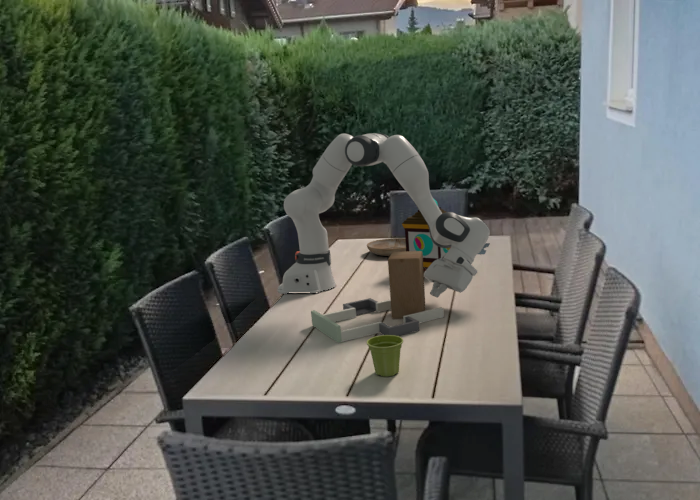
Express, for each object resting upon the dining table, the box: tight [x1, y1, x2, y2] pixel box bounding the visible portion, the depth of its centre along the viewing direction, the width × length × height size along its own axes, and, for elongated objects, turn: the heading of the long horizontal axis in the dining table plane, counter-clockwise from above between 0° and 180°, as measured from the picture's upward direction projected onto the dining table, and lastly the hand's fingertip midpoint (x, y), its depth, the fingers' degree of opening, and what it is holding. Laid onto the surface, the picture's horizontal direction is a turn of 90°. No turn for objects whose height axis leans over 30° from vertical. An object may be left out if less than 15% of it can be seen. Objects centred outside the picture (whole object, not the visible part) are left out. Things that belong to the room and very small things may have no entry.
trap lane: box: [310, 299, 445, 344], centre depth 218 cm, size 37×19×5 cm, turn 116°
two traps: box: [342, 297, 420, 337], centre depth 219 cm, size 10×31×3 cm, turn 26°
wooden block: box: [387, 251, 426, 320], centre depth 221 cm, size 10×10×20 cm
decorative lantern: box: [401, 197, 451, 270], centre depth 274 cm, size 20×20×30 cm
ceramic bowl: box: [366, 237, 406, 257], centre depth 312 cm, size 23×24×5 cm
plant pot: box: [366, 334, 404, 378], centre depth 177 cm, size 9×9×9 cm
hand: (433, 295), depth 227 cm, fingers closed
